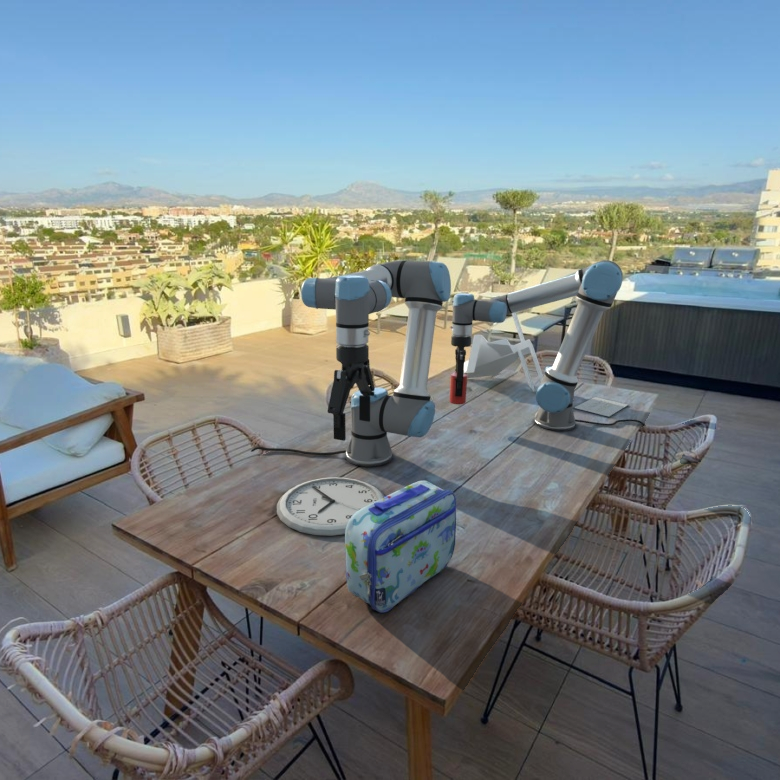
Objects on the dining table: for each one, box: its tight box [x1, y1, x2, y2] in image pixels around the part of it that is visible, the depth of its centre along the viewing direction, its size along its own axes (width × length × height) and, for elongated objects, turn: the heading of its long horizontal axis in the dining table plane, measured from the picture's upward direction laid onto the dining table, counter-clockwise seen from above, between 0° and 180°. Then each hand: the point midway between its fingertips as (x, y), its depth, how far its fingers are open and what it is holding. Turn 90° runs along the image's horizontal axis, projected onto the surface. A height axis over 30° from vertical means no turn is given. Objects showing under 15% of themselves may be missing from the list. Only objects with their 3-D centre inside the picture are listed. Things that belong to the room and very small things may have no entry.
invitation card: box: [573, 396, 629, 418], centre depth 226 cm, size 21×1×15 cm
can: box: [449, 371, 468, 405], centre depth 203 cm, size 6×6×11 cm
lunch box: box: [344, 480, 457, 614], centre depth 109 cm, size 26×11×21 cm, turn 135°
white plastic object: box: [464, 312, 544, 393], centre depth 256 cm, size 37×45×31 cm
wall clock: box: [276, 476, 386, 537], centre depth 142 cm, size 30×2×30 cm
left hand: (352, 429), depth 127 cm, fingers open, 13 cm apart
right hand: (458, 393), depth 204 cm, fingers closed on can, 6 cm apart
